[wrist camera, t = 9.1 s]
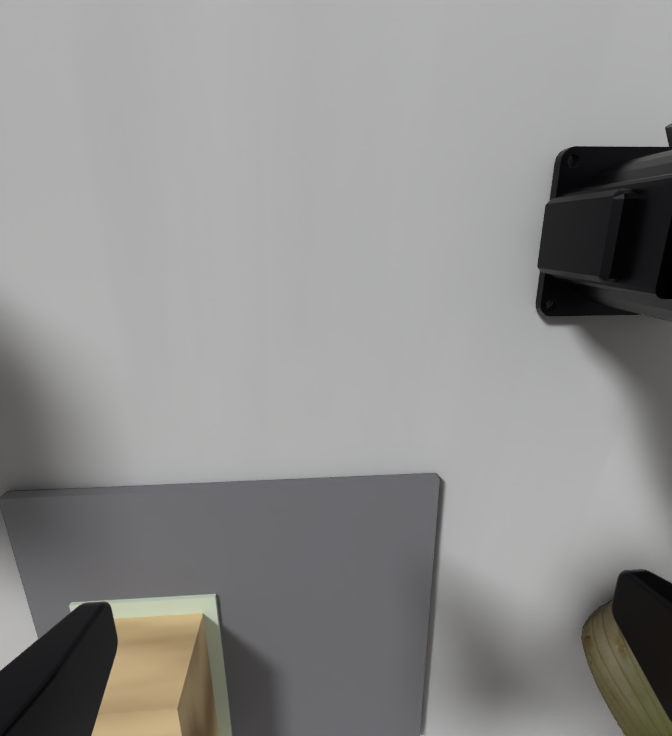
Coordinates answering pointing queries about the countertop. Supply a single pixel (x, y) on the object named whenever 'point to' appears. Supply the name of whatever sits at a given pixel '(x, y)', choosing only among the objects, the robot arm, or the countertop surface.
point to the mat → (256, 587)
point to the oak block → (159, 680)
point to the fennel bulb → (622, 678)
